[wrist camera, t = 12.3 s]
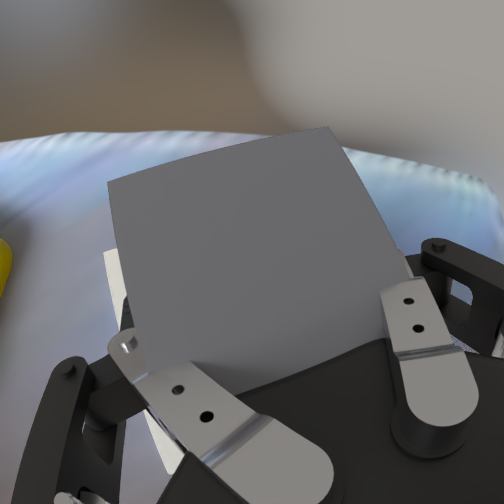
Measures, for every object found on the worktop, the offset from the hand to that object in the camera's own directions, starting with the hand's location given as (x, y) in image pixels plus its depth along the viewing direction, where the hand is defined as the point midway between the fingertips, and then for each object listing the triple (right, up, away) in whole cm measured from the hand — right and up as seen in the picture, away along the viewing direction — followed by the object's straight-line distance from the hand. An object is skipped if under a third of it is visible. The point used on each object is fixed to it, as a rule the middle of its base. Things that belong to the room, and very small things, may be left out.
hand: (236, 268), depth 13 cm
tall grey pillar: (0, -3, +3) cm, 5 cm away
